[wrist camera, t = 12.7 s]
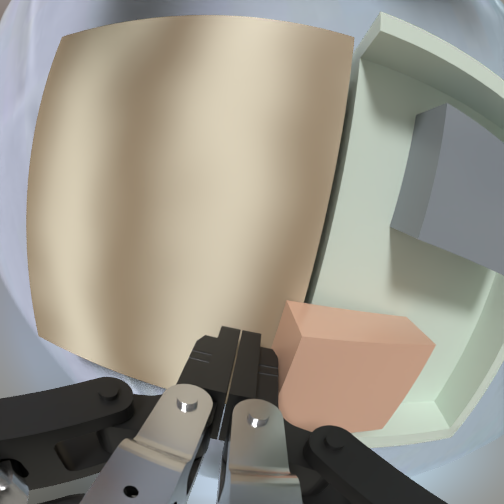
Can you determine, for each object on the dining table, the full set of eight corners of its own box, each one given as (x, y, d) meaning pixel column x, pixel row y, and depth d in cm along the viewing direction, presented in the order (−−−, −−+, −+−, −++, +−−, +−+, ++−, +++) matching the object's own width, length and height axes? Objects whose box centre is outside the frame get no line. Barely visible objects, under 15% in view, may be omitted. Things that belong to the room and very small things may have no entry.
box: (504, 134, 10) (556, 130, 6) (425, 391, 15) (451, 437, 10) (349, 58, 10) (380, 11, 6) (276, 382, 15) (275, 445, 10)
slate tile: (503, 170, 9) (535, 172, 7) (480, 263, 10) (510, 278, 8) (415, 114, 9) (446, 102, 7) (389, 226, 10) (417, 239, 8)
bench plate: (339, 64, 11) (354, 37, 8) (270, 375, 15) (268, 411, 12) (91, 52, 11) (62, 37, 8) (64, 315, 15) (38, 335, 12)
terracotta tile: (406, 316, 11) (436, 344, 9) (364, 396, 12) (382, 428, 10) (286, 300, 10) (302, 336, 8) (255, 393, 12) (260, 434, 9)
